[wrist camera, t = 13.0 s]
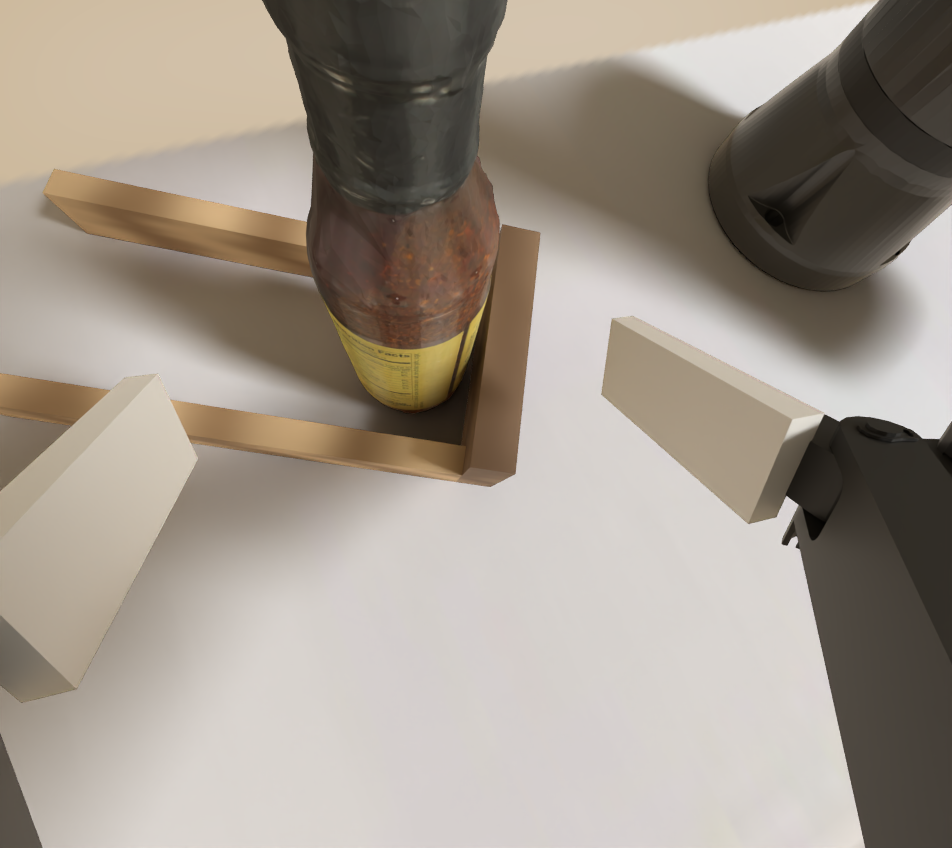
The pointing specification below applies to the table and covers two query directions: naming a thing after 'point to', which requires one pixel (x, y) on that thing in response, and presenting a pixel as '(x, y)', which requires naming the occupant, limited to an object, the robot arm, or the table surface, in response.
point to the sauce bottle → (398, 182)
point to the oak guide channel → (284, 249)
